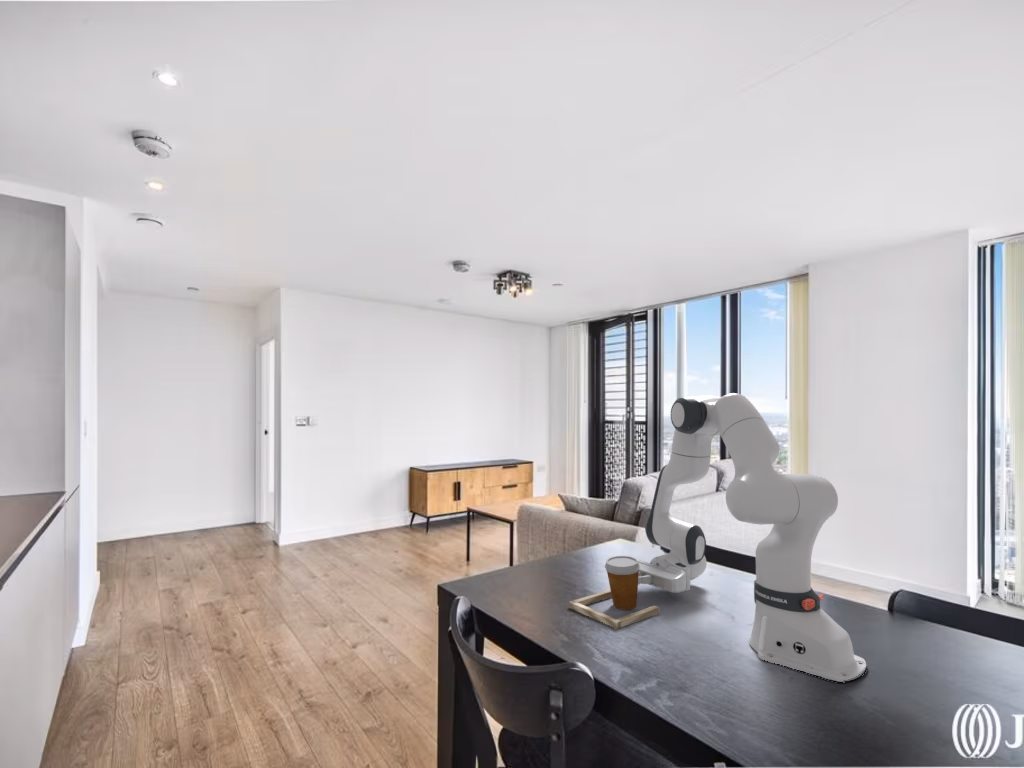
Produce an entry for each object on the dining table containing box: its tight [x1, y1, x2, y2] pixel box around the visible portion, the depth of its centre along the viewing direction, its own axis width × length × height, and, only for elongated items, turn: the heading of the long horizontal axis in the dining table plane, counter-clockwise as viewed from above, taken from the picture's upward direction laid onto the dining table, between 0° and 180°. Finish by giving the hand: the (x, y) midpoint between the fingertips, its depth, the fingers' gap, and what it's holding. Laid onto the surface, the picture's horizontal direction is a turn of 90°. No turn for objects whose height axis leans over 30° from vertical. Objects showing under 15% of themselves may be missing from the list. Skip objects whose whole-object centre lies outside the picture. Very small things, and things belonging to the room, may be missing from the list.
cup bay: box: [568, 589, 660, 630], centre depth 140 cm, size 17×16×2 cm
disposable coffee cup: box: [604, 555, 640, 611], centre depth 143 cm, size 10×10×12 cm
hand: (633, 580), depth 145 cm, fingers closed, pressing on disposable coffee cup
